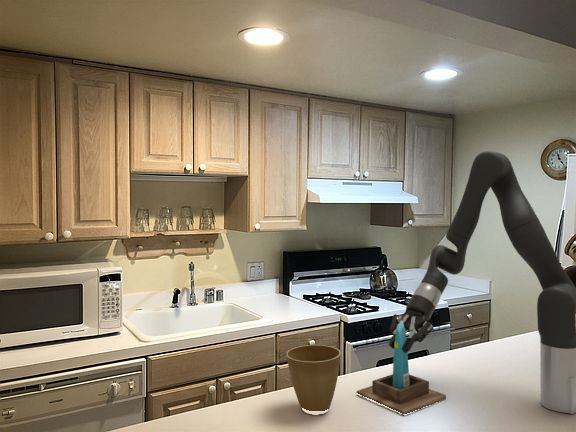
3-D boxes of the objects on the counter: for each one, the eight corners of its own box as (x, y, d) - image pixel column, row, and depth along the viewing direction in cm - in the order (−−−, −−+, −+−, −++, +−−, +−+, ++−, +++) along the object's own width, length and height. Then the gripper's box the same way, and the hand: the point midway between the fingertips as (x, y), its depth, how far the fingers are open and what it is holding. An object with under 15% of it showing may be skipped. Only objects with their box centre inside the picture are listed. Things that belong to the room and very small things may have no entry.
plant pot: (327, 395, 142) (326, 341, 142) (351, 416, 128) (350, 356, 128) (279, 403, 137) (278, 348, 136) (299, 426, 123) (298, 364, 122)
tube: (394, 383, 144) (393, 319, 144) (410, 385, 143) (410, 321, 142) (390, 392, 137) (390, 326, 137) (408, 395, 136) (407, 327, 135)
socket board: (446, 399, 138) (446, 382, 138) (404, 416, 127) (404, 398, 127) (397, 380, 152) (397, 366, 152) (356, 395, 142) (356, 379, 142)
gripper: (399, 290, 150) (373, 336, 143) (438, 297, 138) (411, 347, 131) (411, 305, 153) (385, 350, 146) (449, 312, 141) (423, 362, 135)
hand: (397, 348), depth 139 cm, fingers closed on tube, 4 cm apart
